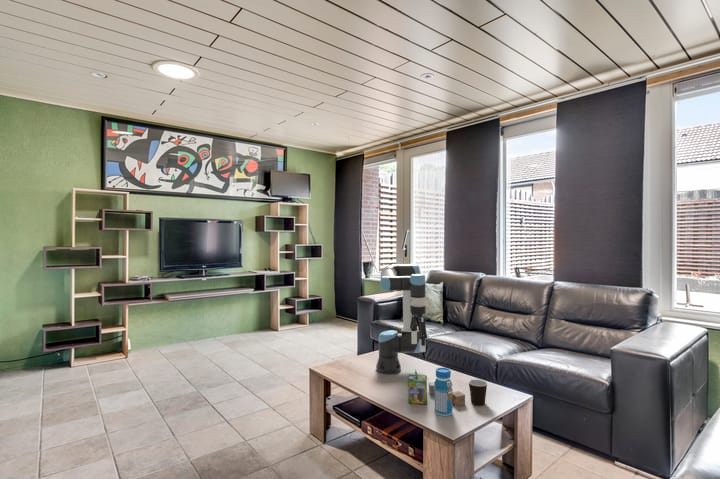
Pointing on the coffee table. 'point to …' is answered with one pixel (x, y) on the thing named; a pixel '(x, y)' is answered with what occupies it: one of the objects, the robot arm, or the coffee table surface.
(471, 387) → the coffee mug
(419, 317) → the robot arm
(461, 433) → the coffee table surface
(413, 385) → the chalk box
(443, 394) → the beverage bottle
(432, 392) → the gray cube
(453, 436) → the coffee table surface
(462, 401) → the walnut block
